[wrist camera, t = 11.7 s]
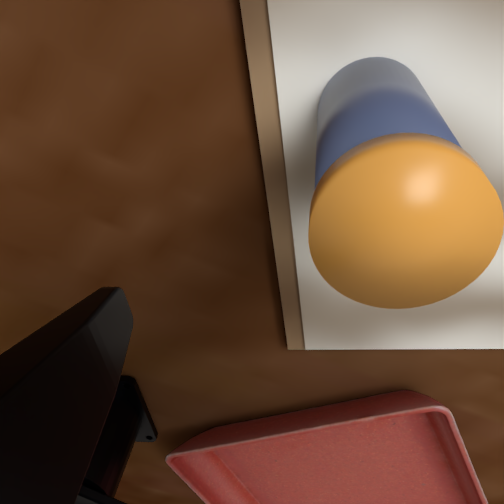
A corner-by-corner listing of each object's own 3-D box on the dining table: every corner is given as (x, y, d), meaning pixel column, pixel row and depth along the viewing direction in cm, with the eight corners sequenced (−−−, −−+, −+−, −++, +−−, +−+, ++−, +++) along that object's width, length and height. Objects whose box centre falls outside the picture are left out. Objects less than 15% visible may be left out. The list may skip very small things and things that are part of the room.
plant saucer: (499, 516, 34) (513, 566, 32) (279, 537, 41) (276, 580, 38) (435, 355, 26) (448, 404, 23) (172, 413, 32) (158, 457, 30)
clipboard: (580, 339, 24) (595, 363, 22) (288, 342, 26) (286, 363, 25) (762, -186, 13) (813, -200, 11) (230, -87, 15) (221, -89, 14)
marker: (423, 158, 18) (489, 306, 11) (318, 166, 19) (314, 310, 12) (431, 46, 16) (519, 141, 9) (311, 61, 17) (300, 159, 10)
